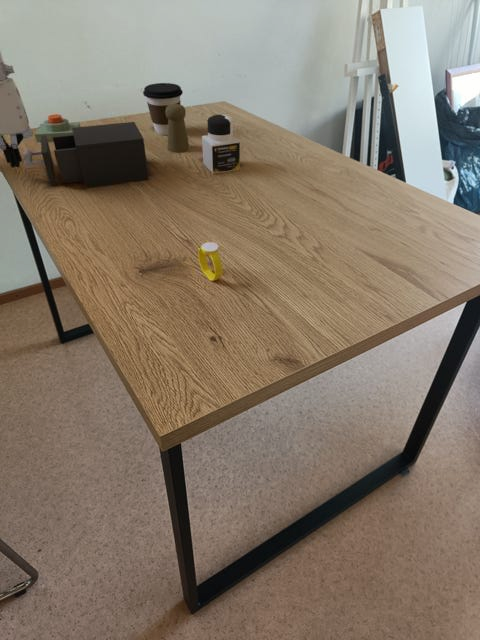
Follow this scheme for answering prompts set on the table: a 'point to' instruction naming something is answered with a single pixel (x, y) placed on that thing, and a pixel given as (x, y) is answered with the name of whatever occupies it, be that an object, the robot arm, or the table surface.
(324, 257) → the table surface
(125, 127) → the black drawer box
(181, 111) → the olive brown pawn
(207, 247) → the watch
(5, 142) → the robot arm
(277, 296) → the table surface
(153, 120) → the coffee cup
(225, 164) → the medicine bottle
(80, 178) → the drawer
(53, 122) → the button
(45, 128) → the control block
